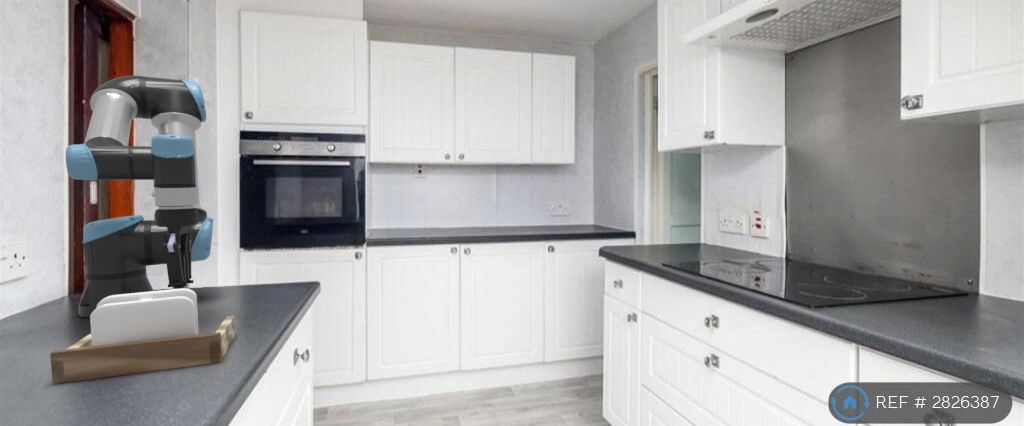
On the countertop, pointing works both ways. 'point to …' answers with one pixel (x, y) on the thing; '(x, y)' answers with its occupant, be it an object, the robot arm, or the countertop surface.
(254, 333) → the countertop surface
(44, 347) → the countertop surface
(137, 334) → the cable organizer
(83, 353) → the wooden tray
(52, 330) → the countertop surface
